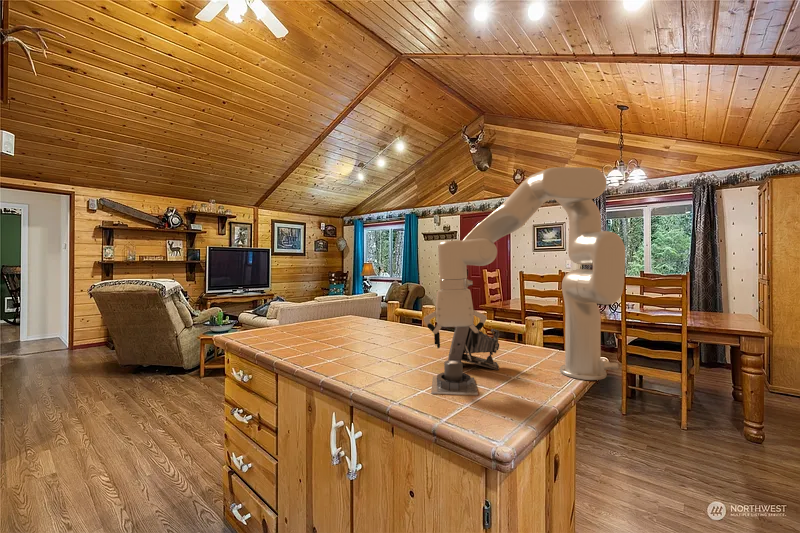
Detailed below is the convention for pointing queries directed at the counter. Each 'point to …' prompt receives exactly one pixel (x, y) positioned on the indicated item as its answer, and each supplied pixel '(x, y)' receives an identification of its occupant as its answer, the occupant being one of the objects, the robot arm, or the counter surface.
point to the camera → (464, 345)
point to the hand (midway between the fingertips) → (456, 346)
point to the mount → (454, 386)
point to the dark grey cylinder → (453, 370)
